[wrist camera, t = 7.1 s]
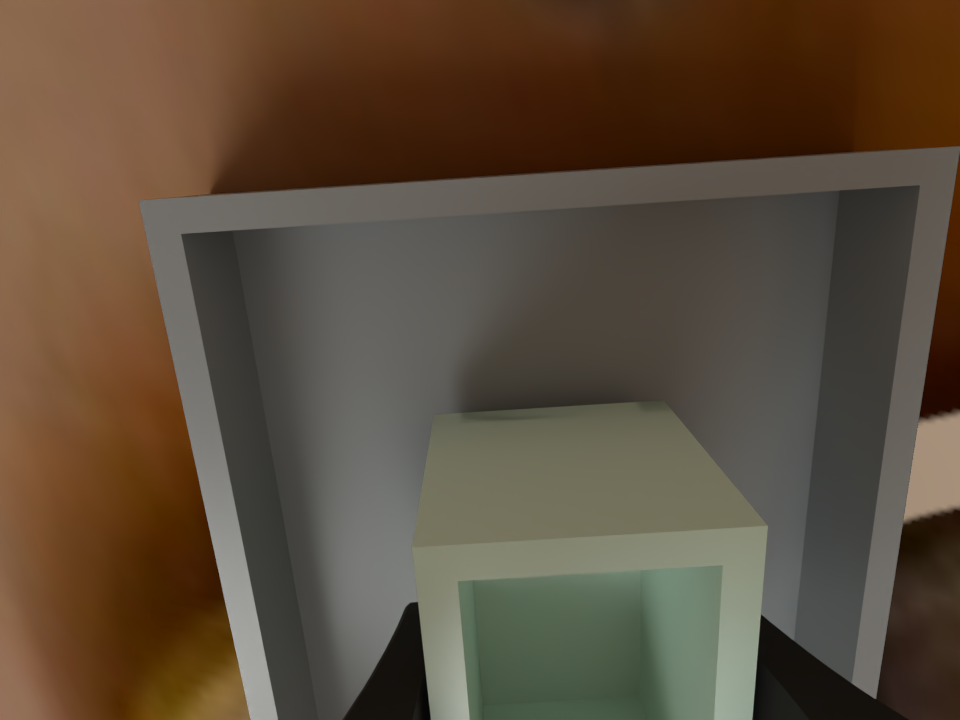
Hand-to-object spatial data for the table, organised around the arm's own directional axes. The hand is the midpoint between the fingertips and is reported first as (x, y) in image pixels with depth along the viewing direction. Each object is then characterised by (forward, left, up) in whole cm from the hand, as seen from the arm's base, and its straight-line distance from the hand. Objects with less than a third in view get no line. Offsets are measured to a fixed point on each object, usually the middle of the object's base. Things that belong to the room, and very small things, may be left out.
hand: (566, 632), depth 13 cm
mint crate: (0, 0, -2) cm, 2 cm away
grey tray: (0, 0, -3) cm, 3 cm away
